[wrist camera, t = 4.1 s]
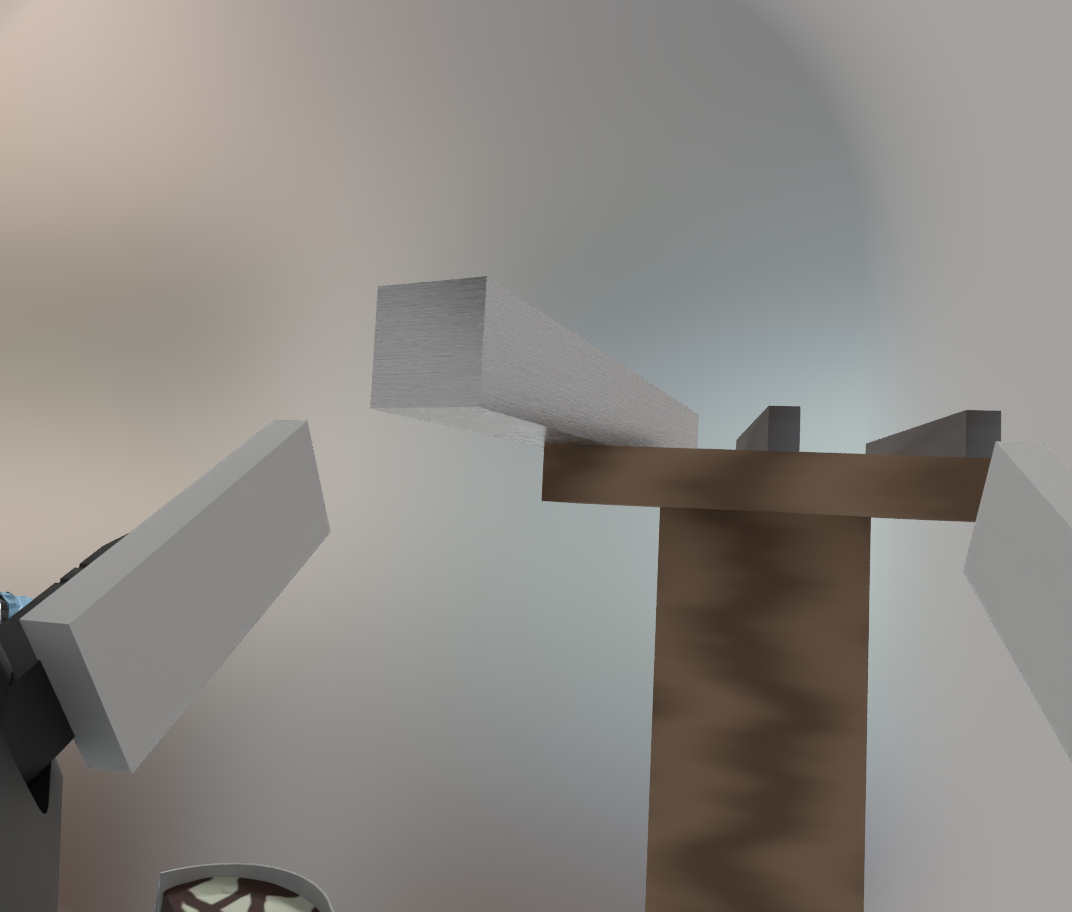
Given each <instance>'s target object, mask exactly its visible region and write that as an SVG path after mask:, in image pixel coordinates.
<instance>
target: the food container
mask: <svg viewBox="0 0 1072 912" xmlns="http://www.w3.org/2000/svg"><path fill="white" fill-rule="evenodd" d="M154 912H334V911H333V908H332V905H331V902H330V900H329V898H328V897H327V895H326V894H325V892H324V891H323V890H322V889H321V888H320V887H319V886H317V885H316V884H315V883H314V882H312V881H310V880H309V879H307V878H305V877H304V876H302V875H299V874H297V873H294V872H291V871H289V870H285V869H281V868H277V867H273V866H267V865H260V864H248V863H217V864H206V865H197V866H191V867H184V868H178V869H174V870H169V871H165V872H160V878H159V884H158V886H157V893H156V901H155V908H154Z"/></svg>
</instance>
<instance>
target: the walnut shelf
mask: <svg viewBox="0 0 1072 912" xmlns="http://www.w3.org/2000/svg"><path fill="white" fill-rule="evenodd" d="M996 441H999V442H1001V411H980V410H965V411H962V412H959V413H956V414H953V415H950V416H947V417H944V418H941V419H938V420H935V421H932V422H930V423H927V424H924V425H921V426H918V427H915V428H912V429H909V430H906V431H903V432H900V433H897V434H894V435H891V436H888V437H885V438H882V439H879V440H876V441H873V442H870V443H867V444H866V454H846V453H816V452H799V444H800V443H799V442H800V407H796V406H795V407H794V406H793V407H792V406H768V407H767V408H766V409H765V411H763V413H762V414H761V415H760V416H759V417H758V418H757V419H756V420H755V421H754V422H753V423H752V424H751V425H750V426H749V427H748V428H747V430H746V431H745V432H744V433H743V434H742V435H741V436H740V437H739V438H738V439H737V442H736V450H725V449H695V448H664V447H634V446H603V445H573V444H544V463H543V484H542V501H553V502H568V503H583V504H604V505H624V506H645V507H660V525H659V553H658V579H657V607H656V634H655V661H654V687H653V714H652V741H651V767H650V794H649V795H650V796H649V821H648V848H647V877H646V903H645V912H864V857H865V855H864V854H865V803H866V802H865V801H866V747H867V693H868V689H867V688H868V640H869V585H870V581H869V580H870V530H871V517H875V518H895V519H916V520H918V519H919V520H939V521H965V522H966V521H967V522H976V518H977V514H978V510H979V506H980V502H981V498H982V494H983V490H984V486H985V482H986V478H987V474H988V470H989V466H990V462H991V458H992V454H993V450H994V446H995V442H996Z"/></svg>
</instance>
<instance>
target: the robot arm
mask: <svg viewBox="0 0 1072 912" xmlns="http://www.w3.org/2000/svg"><path fill="white" fill-rule="evenodd" d="M329 533H330V528H329V523H328V518H327V513H326V508H325V504H324V500H323V494H322V489H321V485H320V480H319V475H318V470H317V466H316V461H315V456H314V451H313V446H312V441H311V436H310V432H309V427H308V422H307V421H300V420H297V421H296V420H273V421H272V422H271V423H269V424H268V425H267V426H265V427H264V428H263V429H262V430H260V431H259V432H258V433H256V434H255V435H254V436H253V437H251V438H250V439H249V440H248V441H246V442H245V443H244V444H242V445H241V446H240V447H239V448H237V449H236V450H235V451H234V452H232V453H231V454H230V455H229V456H227V457H226V458H225V459H223V460H222V461H221V462H219V463H218V464H217V465H216V466H215V467H213V468H212V469H211V470H209V471H208V472H207V473H205V474H204V475H203V476H202V477H200V478H199V479H198V480H197V481H195V482H194V483H193V484H191V485H190V486H189V487H188V488H186V489H185V490H184V491H183V492H181V493H180V494H179V495H177V496H176V497H175V498H174V499H172V500H171V501H170V502H168V503H167V504H166V505H165V506H163V507H162V508H161V509H159V510H158V511H157V512H156V513H155V514H153V515H152V516H151V517H149V518H148V519H147V520H145V521H144V522H143V523H142V524H140V525H139V526H138V527H137V528H135V529H134V530H133V531H131V532H130V533H128V534H126V535H124V536H122V537H120V538H118V539H116V540H114V541H112V542H110V543H108V544H106V545H104V546H102V547H101V548H100V549H99V550H97V551H96V552H94V553H93V554H92V555H91V556H89V557H88V558H87V559H85V560H84V561H83V562H82V563H80V566H79V568H74V569H72V570H71V571H70V572H69V573H67V574H66V575H65V576H64V577H62V578H61V579H60V583H54V584H53V585H52V586H50V587H49V588H48V589H46V590H45V591H44V592H43V593H41V594H40V595H39V596H37V597H36V598H35V599H32V598H29V597H24V596H14V595H13V594H11V593H9V592H6V593H3V592H0V912H57V906H58V881H59V857H60V832H61V807H62V781H63V775H62V772H61V769H60V766H59V764H58V762H57V760H56V758H55V757H56V756H57V755H58V754H59V753H60V752H61V751H62V750H63V749H64V748H65V747H66V746H67V745H68V744H69V742H70V741H71V740H72V739H73V738H74V740H75V743H76V744H77V747H78V749H79V751H80V753H81V756H82V758H83V760H84V762H85V764H86V767H87V768H93V769H100V770H107V771H114V772H122V773H129V774H132V773H133V772H134V771H135V770H136V768H137V767H138V766H139V765H140V764H141V762H142V761H143V760H144V759H145V757H146V756H147V755H148V754H149V753H150V751H151V750H152V749H153V748H154V747H155V745H156V744H157V743H158V742H159V741H160V739H161V738H162V737H163V736H164V734H165V733H166V732H167V731H168V729H169V728H170V727H171V726H172V725H173V723H174V722H175V721H176V720H177V719H178V717H179V716H180V715H181V714H182V713H183V711H184V710H185V709H186V708H187V706H188V705H189V704H190V703H191V702H192V700H193V699H194V698H195V697H196V695H197V694H198V693H199V692H200V691H201V689H202V688H203V687H204V686H205V684H206V683H207V682H208V681H209V680H210V678H211V677H212V676H213V675H214V674H215V672H216V671H217V670H218V669H219V667H220V666H221V665H222V664H223V663H224V661H225V660H226V659H227V658H228V656H229V655H230V654H231V653H232V652H233V650H234V649H235V648H236V646H237V645H238V644H239V643H240V642H241V641H242V639H243V638H244V637H245V636H246V634H247V633H248V632H249V631H250V630H251V628H252V627H253V626H254V625H255V624H256V622H257V621H258V620H259V619H260V618H261V616H262V615H263V613H265V611H266V610H267V609H268V608H269V607H270V605H271V604H272V603H273V602H274V600H275V599H276V598H277V597H278V596H279V594H280V593H281V592H282V591H283V589H284V588H285V587H286V586H287V585H288V583H289V582H290V581H291V580H292V579H293V577H294V576H295V575H296V574H297V572H298V571H299V570H300V569H301V568H302V566H303V565H304V564H305V563H306V561H307V560H308V559H309V558H310V557H311V555H312V554H313V553H314V552H315V550H316V549H317V548H318V547H319V546H320V544H321V543H322V542H323V541H324V539H325V538H326V537H327V536H328V535H329ZM963 572H964V574H965V576H966V577H967V579H968V581H969V582H970V584H971V586H972V588H973V589H974V591H975V593H976V595H977V597H978V598H979V600H980V602H981V604H982V605H983V607H984V609H985V611H986V613H987V614H988V616H989V618H990V619H991V621H992V623H993V625H994V626H995V628H996V630H997V632H998V634H999V635H1000V637H1001V639H1002V641H1003V642H1004V644H1005V646H1006V648H1007V649H1008V651H1009V653H1010V655H1011V656H1012V658H1013V660H1014V662H1015V663H1016V665H1017V667H1018V669H1019V670H1020V672H1021V674H1022V676H1023V678H1024V679H1025V681H1026V683H1027V684H1028V686H1029V688H1030V690H1031V692H1032V693H1033V695H1034V697H1035V699H1036V700H1037V702H1038V704H1039V706H1040V707H1041V709H1042V711H1043V713H1044V714H1045V716H1046V718H1047V719H1048V721H1049V723H1050V725H1051V727H1052V728H1053V730H1054V732H1055V734H1056V736H1057V737H1058V739H1059V741H1060V743H1061V744H1062V746H1063V748H1064V750H1065V751H1066V753H1067V755H1068V757H1069V758H1070V760H1071V762H1072V470H1071V469H1070V468H1069V467H1068V466H1067V465H1066V464H1065V463H1064V462H1063V461H1062V460H1061V459H1060V458H1059V457H1058V456H1057V455H1056V454H1055V453H1054V452H1053V451H1052V450H1051V449H1050V448H1049V447H1048V446H1047V445H1046V444H1045V443H1032V442H1031V443H1030V442H999V441H996V442H995V446H994V450H993V454H992V458H991V462H990V466H989V470H988V474H987V478H986V482H985V486H984V490H983V494H982V498H981V502H980V506H979V510H978V514H977V518H976V522H975V526H974V530H973V534H972V538H971V542H970V546H969V550H968V554H967V558H966V562H965V566H964V570H963Z"/></svg>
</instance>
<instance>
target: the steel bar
mask: <svg viewBox="0 0 1072 912" xmlns="http://www.w3.org/2000/svg"><path fill="white" fill-rule="evenodd" d="M375 328H376V329H375V344H374V360H373V374H372V391H371V407H370V408H371V409H376V410H379V411H384V412H388V413H393V414H397V415H402V416H407V417H411V418H415V419H419V420H424V421H428V422H433V423H437V424H442V425H446V426H451V427H455V428H459V429H464V430H468V431H473V432H477V433H481V434H486V435H490V436H495V437H499V438H504V439H509V440H513V441H517V442H521V443H526V444H530V445H535V446H539V447H543V448H544V444H573V445H603V446H634V447H664V448H695V449H697V439H698V436H697V435H698V414H697V413H695V412H694V411H692V410H691V409H689V408H688V407H686V406H685V405H683V404H682V403H680V402H678V401H677V400H675V399H674V398H672V397H671V396H669V395H668V394H666V393H664V392H663V391H662V390H660V389H659V388H657V387H655V386H654V385H652V384H651V383H649V382H648V381H646V380H645V379H643V378H642V377H640V376H639V375H637V374H635V373H634V372H632V371H631V370H629V369H628V368H626V367H625V366H623V365H622V364H620V363H619V362H617V361H616V360H614V359H612V358H611V357H610V356H608V355H606V354H605V353H603V352H602V351H600V350H599V349H597V348H596V347H594V346H593V345H591V344H589V343H588V342H586V341H585V340H583V339H582V338H580V337H579V336H577V335H576V334H574V333H573V332H571V331H570V330H568V329H567V328H565V327H564V326H562V325H560V324H559V323H557V322H556V321H554V320H553V319H551V318H550V317H548V316H547V315H545V314H544V313H542V312H541V311H539V310H537V309H536V308H534V307H533V306H531V305H530V304H528V303H527V302H525V301H524V300H522V299H521V298H519V297H517V296H516V295H515V294H513V293H511V292H510V291H508V290H507V289H505V288H503V287H502V286H500V285H499V284H498V283H496V282H495V281H493V280H491V279H490V278H488V277H475V278H465V279H454V280H443V281H433V282H422V283H411V284H401V285H390V286H379V287H378V296H377V312H376V327H375Z"/></svg>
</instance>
